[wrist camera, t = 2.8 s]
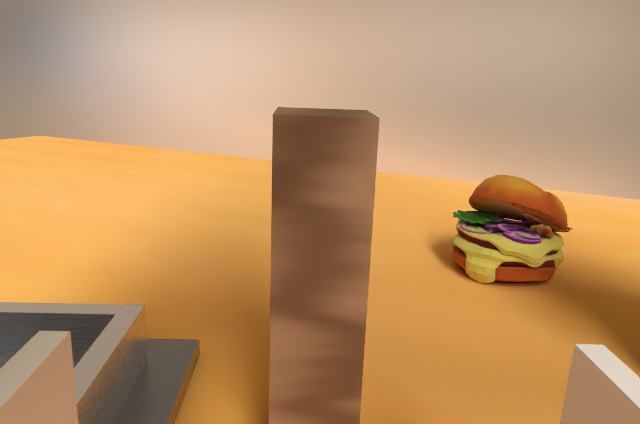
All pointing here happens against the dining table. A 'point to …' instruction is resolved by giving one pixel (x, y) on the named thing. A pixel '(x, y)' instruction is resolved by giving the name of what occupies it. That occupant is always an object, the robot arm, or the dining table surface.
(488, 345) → the dining table surface
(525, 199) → the cheeseburger
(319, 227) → the walnut post
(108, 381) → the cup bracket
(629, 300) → the dining table surface
